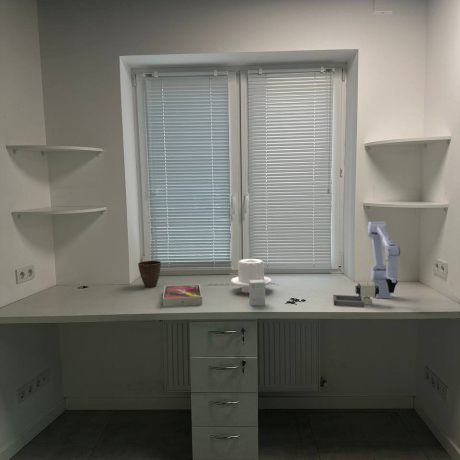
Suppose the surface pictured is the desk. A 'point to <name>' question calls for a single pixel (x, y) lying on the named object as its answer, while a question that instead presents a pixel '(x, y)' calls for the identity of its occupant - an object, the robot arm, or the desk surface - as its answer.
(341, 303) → the housing bracket
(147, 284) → the plant pot
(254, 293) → the small box
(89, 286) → the desk surface
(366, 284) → the pneumatic valve
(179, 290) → the product packaging
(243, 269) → the ribbed cylinder on disc
